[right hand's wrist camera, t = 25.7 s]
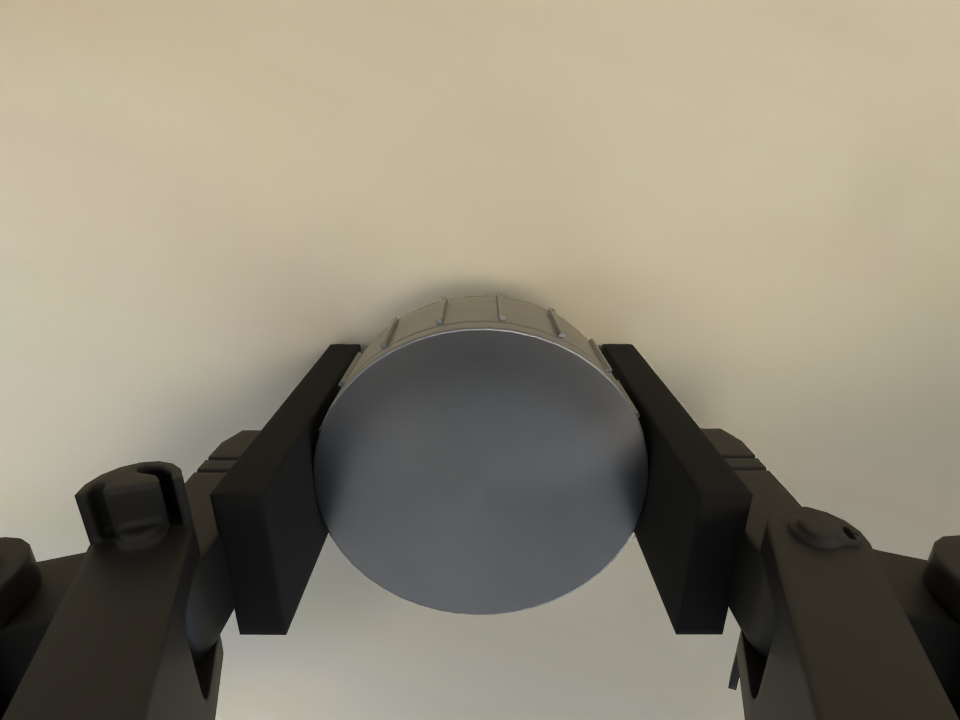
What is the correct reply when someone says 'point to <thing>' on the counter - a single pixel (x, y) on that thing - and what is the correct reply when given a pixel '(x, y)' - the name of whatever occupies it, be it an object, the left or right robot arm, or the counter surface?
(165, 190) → the counter surface
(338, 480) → the lid
